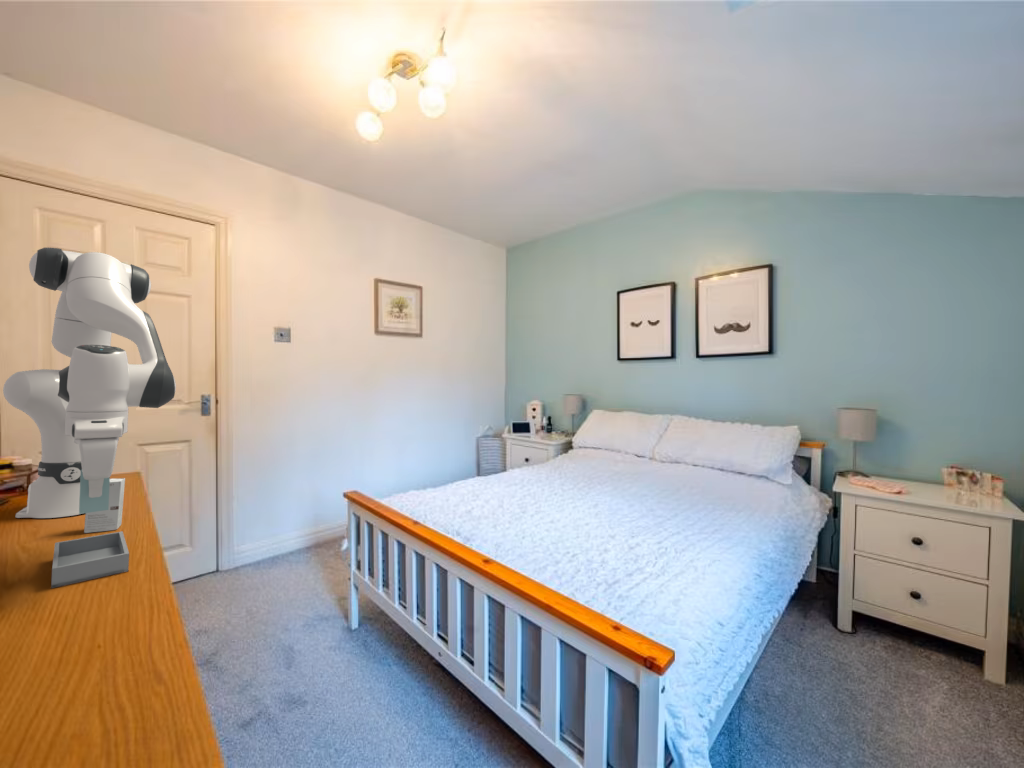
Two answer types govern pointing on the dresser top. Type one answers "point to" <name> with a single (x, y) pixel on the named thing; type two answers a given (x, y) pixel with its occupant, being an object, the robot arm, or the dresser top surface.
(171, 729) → the dresser top surface
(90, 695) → the dresser top surface
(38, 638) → the dresser top surface
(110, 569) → the grey tray
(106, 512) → the skincare box
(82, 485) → the teal block
